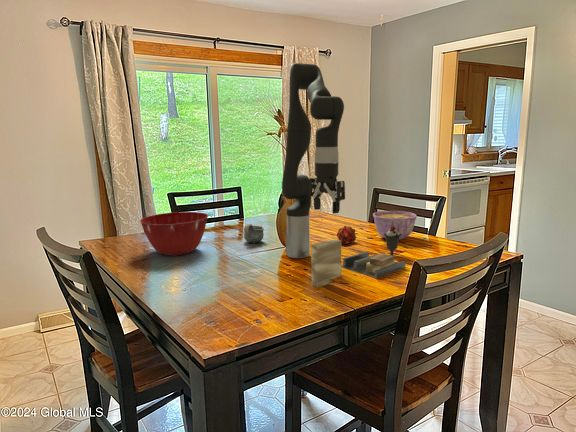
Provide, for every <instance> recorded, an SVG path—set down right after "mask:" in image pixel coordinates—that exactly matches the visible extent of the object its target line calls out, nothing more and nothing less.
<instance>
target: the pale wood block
mask: <svg viewBox="0 0 576 432" xmlns="http://www.w3.org/2000/svg"><path fill="white" fill-rule="evenodd" d="M310 251H311V252H310V253H311V255H310V257H311V258H310V259H311V261H310V263H311V271H310V273H311V276H310V277H311V286H312V287H315V288H321V287H325V286H327V284H328V285H331V284H333V283H336V281H334V280H332V279H336V278H339V277H342V267H341V266H342V244H341V240H339V239H338V238H337V239H336V238H334V239H329V240H325V241H321V242H317V243H313V244H312V243H311V245H310Z"/></svg>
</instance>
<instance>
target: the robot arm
mask: <svg viewBox="0 0 576 432" xmlns="http://www.w3.org/2000/svg"><path fill="white" fill-rule="evenodd" d="M323 78H324V77H323V75H322V71H321V69H320V67H319V66H318V65H316V64H314V63H313V64H312V63H305V62H304V63H302V62H294V63H292V65H291V67H290V70H289V94H288V95H289V104H288V105H289V107H288V119H287V127H286V129H287V130H286V131H287V132H286V149H285V151H286V152H285V159H284V167H283V175H282V180H281V181H282V182H281V191H282V195H283V197H284V198H285V199H287V200H294V202H293V203H292V204H291V205H290V206H288V207H287V208H286V232H285V255H287V257H288V258H291V259H292V258H293V259H305V258H309V257H310V256H311V255H310V253H311V252H310V251H311V245H310V210H311V206H312V198H313V207H314V210H316V211H317V210H321V205H322V204H321V202H322V200H321V196H322V195H323V194H327V195H328V196H329V197H331V199H332V214H339V213H340V209H341V207H340V205H341V201H344V200H346V183H345V180H338V179H337V178H338V176H339V147H338V146H339V130H340V126H341V125H340V124H341V121H342V119H343V114H344V111H345V103H344V101H343V99H342V98H341V97H340V96H337V95H336V96H332V94H331V92H330V91H329V89H328V88H327V87H326V85H325V81H324V79H323ZM300 90H304V91H305V90H306V97H307V100H308V102H309V103H310V104H309V105H310V106H309V112H310V113H309V114H310V116H311V117H312V118H313V119H314V120H316V121H317V120H319V121H320V120H321V121H325V120H326V121H329V120H330V123H329V124H328V125H327V126H324V127H320V128H317V129H316V131H315V150H314V175H315V177H312V178H311V177H310V178H309V176H308V175H305V174H298V172H299V167H300V164H301V161H302V159H303V157H304V156H305V154H306V153H307V151H308V149H309V147H310V144H311V139H312V137H311V136H312V124H311V120H310V119H309V117H308V115H307V113H306V111H305V109H304V107H303V104H302V102H301V99H300V92H299V91H300Z"/></svg>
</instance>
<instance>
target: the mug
mask: <svg viewBox="0 0 576 432" xmlns="http://www.w3.org/2000/svg"><path fill="white" fill-rule="evenodd" d="M264 230H265V227H264V226H262V225H252V223H246V224H245V225H244V228H243V232H244V233H243V234H244V235H243V239H244V240H245V241H246V242H247V243H251V244H259V243H260V242H261V241H262V240H263V238H264V237H265V236H264Z"/></svg>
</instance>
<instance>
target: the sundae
mask: <svg viewBox="0 0 576 432" xmlns="http://www.w3.org/2000/svg"><path fill="white" fill-rule="evenodd" d="M392 225H393V223H392ZM392 225H391V227H392ZM384 235H385V237H386V239H385V244H386V248H387V249H388V250H389V253H390V254H389V255H392V256H394V257H395V255H394V252H395V250H397V249H398V246H399V241H400V240H399V237H400V236H401V234H400V233H399V230H397V229H396V228H395V226H393V227H392V228H390V229H389V231H388V232H387V233H385V234H384ZM385 237H384V238H385Z"/></svg>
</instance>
